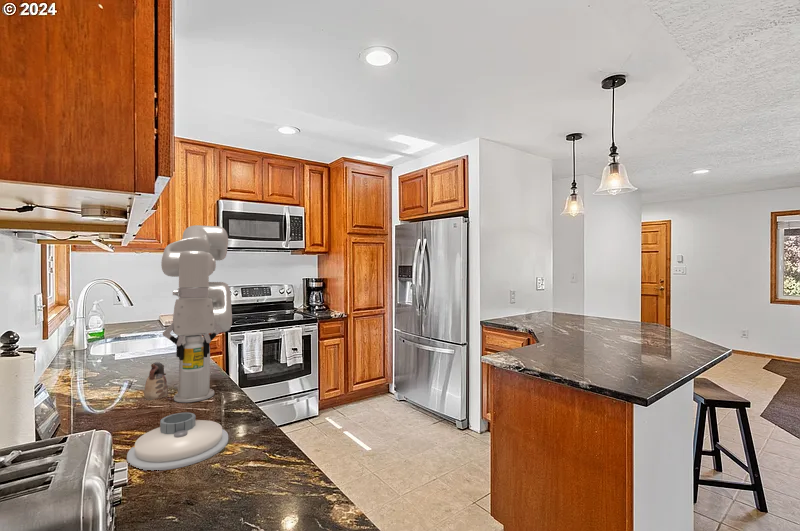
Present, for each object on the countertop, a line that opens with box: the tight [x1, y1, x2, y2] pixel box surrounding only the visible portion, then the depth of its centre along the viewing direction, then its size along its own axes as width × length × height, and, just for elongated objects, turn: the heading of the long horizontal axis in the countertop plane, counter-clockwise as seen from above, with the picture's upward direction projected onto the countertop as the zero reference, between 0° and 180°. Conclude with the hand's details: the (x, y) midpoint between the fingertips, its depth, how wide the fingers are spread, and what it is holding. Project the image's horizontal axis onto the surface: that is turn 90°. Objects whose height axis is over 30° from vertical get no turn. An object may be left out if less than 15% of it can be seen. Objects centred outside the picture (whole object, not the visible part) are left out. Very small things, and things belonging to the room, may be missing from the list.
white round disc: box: [134, 412, 223, 462], centre depth 96 cm, size 19×19×4 cm
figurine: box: [143, 361, 169, 400], centre depth 135 cm, size 7×7×12 cm
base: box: [126, 428, 229, 472], centre depth 96 cm, size 22×22×1 cm
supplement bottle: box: [183, 335, 204, 372], centre depth 108 cm, size 5×5×10 cm
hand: (193, 357), depth 108 cm, fingers closed on supplement bottle, 5 cm apart
